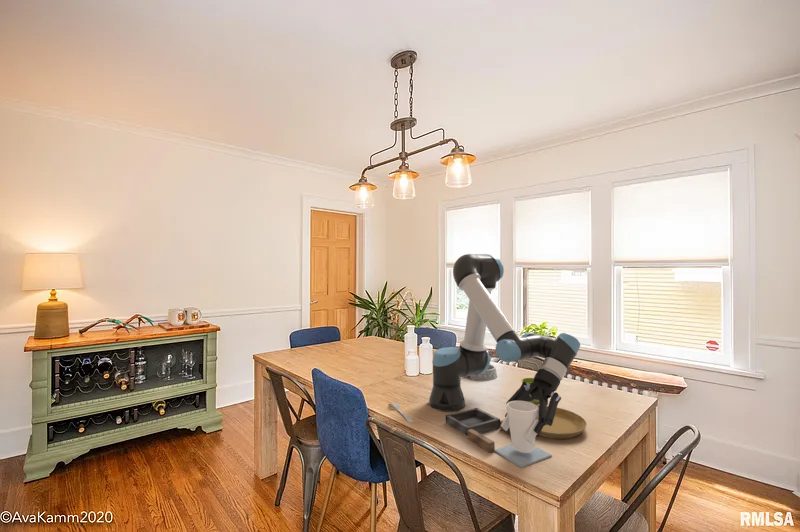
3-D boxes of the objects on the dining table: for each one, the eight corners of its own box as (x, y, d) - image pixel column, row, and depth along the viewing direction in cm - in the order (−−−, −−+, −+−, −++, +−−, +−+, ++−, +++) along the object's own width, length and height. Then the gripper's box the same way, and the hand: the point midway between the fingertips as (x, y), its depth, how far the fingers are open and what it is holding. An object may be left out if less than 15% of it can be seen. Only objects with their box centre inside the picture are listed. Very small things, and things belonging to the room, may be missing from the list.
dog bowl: (483, 369, 210) (483, 360, 210) (504, 378, 193) (503, 368, 193) (457, 373, 203) (457, 363, 203) (476, 382, 186) (476, 372, 186)
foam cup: (505, 452, 112) (505, 409, 112) (508, 438, 120) (508, 399, 120) (538, 457, 108) (538, 413, 108) (539, 443, 117) (539, 402, 117)
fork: (408, 429, 139) (408, 422, 138) (386, 404, 157) (387, 398, 157) (414, 427, 140) (415, 420, 139) (392, 403, 158) (393, 397, 158)
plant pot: (546, 405, 154) (546, 384, 154) (522, 404, 156) (522, 383, 156) (542, 397, 163) (542, 378, 163) (520, 396, 165) (520, 377, 165)
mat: (494, 451, 116) (494, 449, 116) (524, 441, 122) (524, 440, 122) (521, 467, 106) (521, 466, 106) (551, 456, 112) (551, 454, 112)
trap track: (443, 423, 137) (443, 415, 137) (478, 414, 145) (478, 407, 145) (489, 452, 115) (489, 443, 115) (528, 440, 123) (528, 431, 123)
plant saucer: (550, 448, 118) (550, 438, 118) (501, 420, 140) (501, 411, 140) (602, 434, 128) (602, 424, 128) (549, 410, 150) (549, 402, 150)
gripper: (585, 391, 112) (551, 456, 104) (529, 373, 131) (496, 427, 124) (574, 376, 110) (538, 442, 102) (518, 360, 129) (484, 415, 121)
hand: (515, 434), depth 113 cm, fingers closed on foam cup, 9 cm apart
